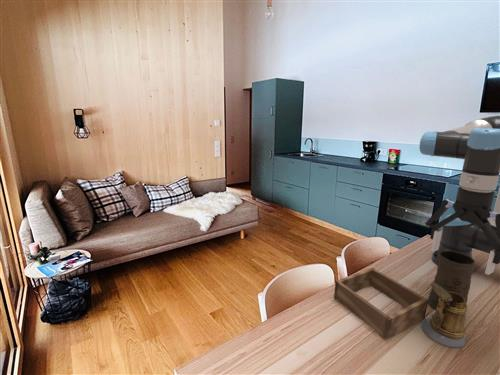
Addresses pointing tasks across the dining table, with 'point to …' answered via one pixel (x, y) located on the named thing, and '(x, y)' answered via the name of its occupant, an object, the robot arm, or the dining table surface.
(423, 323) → the coaster
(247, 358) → the dining table surface
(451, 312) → the wooden mug
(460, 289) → the beer stein
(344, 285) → the wooden frame
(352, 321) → the dining table surface
